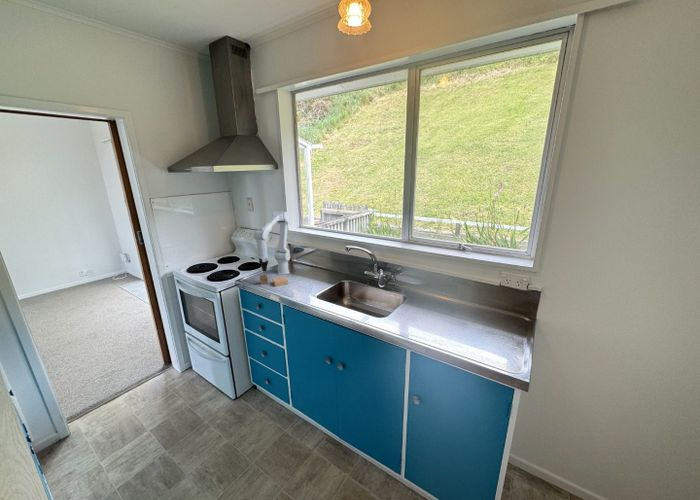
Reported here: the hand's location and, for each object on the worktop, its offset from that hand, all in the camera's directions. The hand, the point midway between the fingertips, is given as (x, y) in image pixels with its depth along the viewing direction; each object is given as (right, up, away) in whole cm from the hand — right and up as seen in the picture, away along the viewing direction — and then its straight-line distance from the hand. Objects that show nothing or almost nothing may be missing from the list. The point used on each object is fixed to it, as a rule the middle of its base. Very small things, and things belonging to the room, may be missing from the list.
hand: (264, 269), depth 182 cm
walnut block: (-1, -9, +3) cm, 10 cm away
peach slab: (+10, -10, +2) cm, 14 cm away
